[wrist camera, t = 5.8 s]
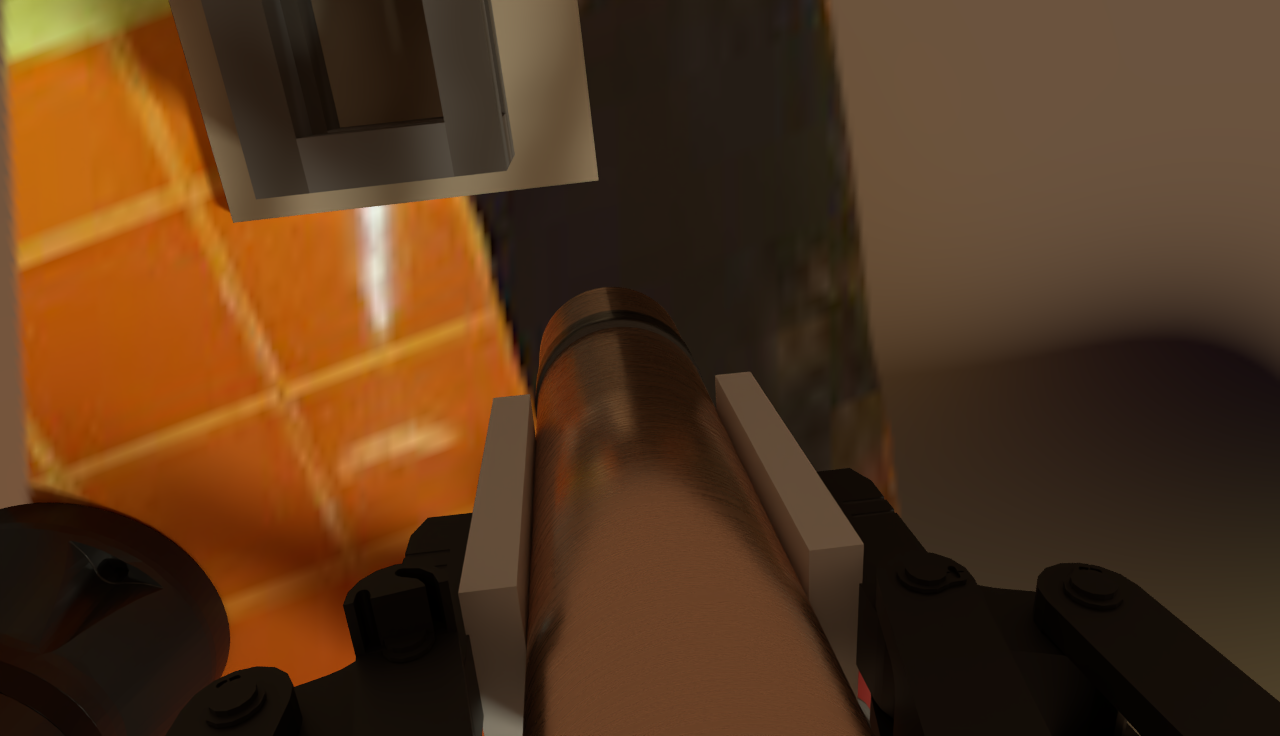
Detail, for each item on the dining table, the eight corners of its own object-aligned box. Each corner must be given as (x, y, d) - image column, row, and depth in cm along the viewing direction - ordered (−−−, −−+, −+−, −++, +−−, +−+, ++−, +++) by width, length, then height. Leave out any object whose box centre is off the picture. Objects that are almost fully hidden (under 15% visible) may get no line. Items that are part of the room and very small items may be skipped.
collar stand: (242, 218, 35) (169, 252, 28) (154, -88, 30) (45, -131, 24) (597, 177, 36) (606, 200, 29) (561, -125, 31) (562, -177, 25)
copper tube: (546, 428, 23) (528, 1442, 6) (529, 292, 21) (443, 1127, 4) (685, 413, 23) (1049, 1338, 6) (679, 278, 21) (1128, 1010, 5)
